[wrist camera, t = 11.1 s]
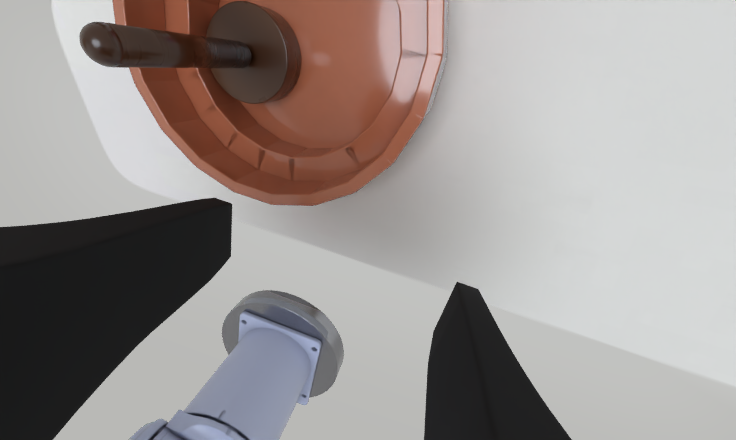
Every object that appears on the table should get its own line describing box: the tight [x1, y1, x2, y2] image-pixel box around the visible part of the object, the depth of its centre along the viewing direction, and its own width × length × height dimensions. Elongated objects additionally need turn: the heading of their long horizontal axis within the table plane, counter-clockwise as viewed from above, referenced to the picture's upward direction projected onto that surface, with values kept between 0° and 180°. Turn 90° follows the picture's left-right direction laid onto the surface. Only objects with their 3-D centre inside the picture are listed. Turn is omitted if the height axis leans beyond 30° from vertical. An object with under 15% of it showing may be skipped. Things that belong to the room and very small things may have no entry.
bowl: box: [113, 0, 448, 206], centre depth 15 cm, size 14×14×5 cm
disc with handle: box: [80, 1, 301, 104], centre depth 13 cm, size 5×5×9 cm
